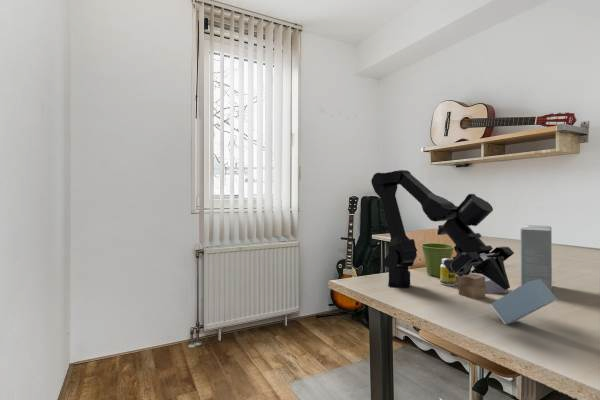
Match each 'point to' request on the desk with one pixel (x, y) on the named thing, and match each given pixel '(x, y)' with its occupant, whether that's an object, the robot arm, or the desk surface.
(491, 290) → the stone block
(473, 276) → the walnut block
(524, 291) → the slate block
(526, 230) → the hard drive box
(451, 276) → the supplement bottle
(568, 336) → the desk surface
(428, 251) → the plant pot
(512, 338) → the desk surface
